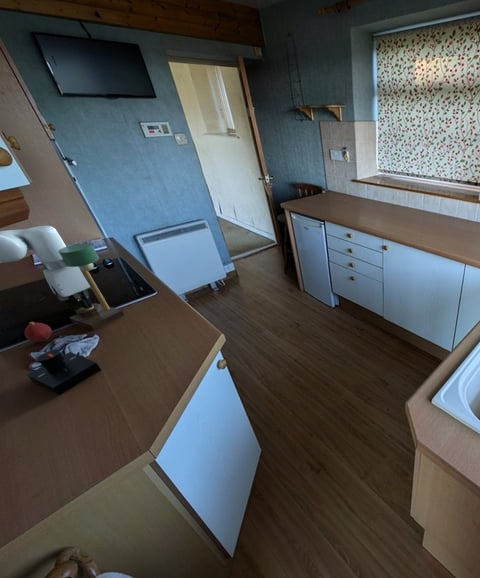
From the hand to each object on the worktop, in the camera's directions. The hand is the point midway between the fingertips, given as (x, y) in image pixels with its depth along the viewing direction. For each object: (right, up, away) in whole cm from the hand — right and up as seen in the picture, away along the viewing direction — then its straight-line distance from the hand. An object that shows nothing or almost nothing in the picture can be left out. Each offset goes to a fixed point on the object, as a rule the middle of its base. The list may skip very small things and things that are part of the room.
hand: (87, 307), depth 109 cm
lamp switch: (0, -2, +1) cm, 2 cm away
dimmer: (+18, -19, -23) cm, 35 cm away
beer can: (-11, -1, +8) cm, 14 cm away
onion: (-5, -11, -10) cm, 15 cm away
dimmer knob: (+16, -16, -24) cm, 33 cm away
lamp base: (+3, -4, +1) cm, 6 cm away
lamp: (+11, -1, -2) cm, 11 cm away
